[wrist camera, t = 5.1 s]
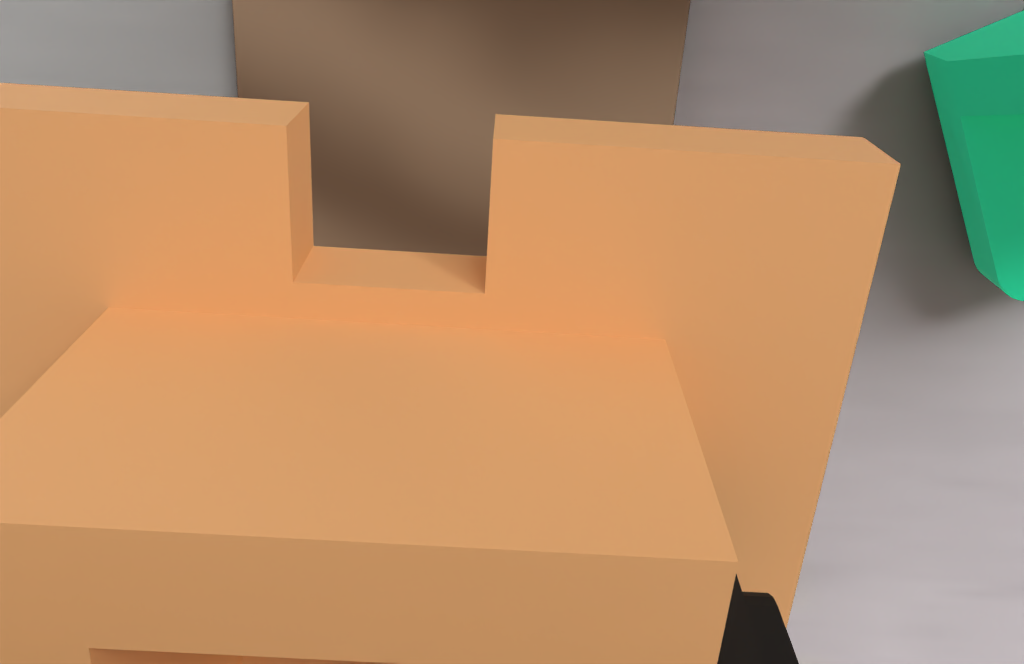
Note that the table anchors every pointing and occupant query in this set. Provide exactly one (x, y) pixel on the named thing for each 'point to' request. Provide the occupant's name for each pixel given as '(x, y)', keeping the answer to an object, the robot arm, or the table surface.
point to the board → (445, 97)
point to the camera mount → (986, 142)
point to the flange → (412, 389)
